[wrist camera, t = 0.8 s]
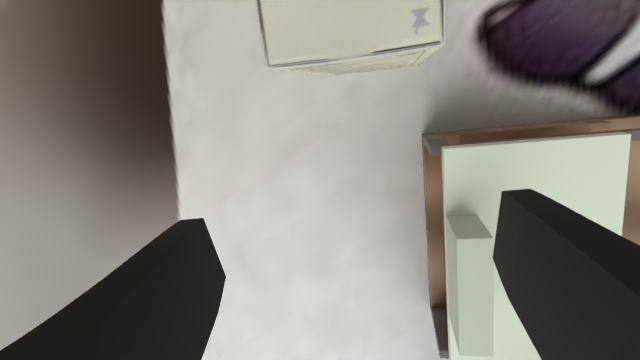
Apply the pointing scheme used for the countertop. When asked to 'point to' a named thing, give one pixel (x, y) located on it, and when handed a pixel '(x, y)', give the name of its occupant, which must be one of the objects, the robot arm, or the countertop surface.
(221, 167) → the countertop surface
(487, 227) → the lid
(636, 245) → the robot arm
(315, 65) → the skincare box
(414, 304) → the countertop surface
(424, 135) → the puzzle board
